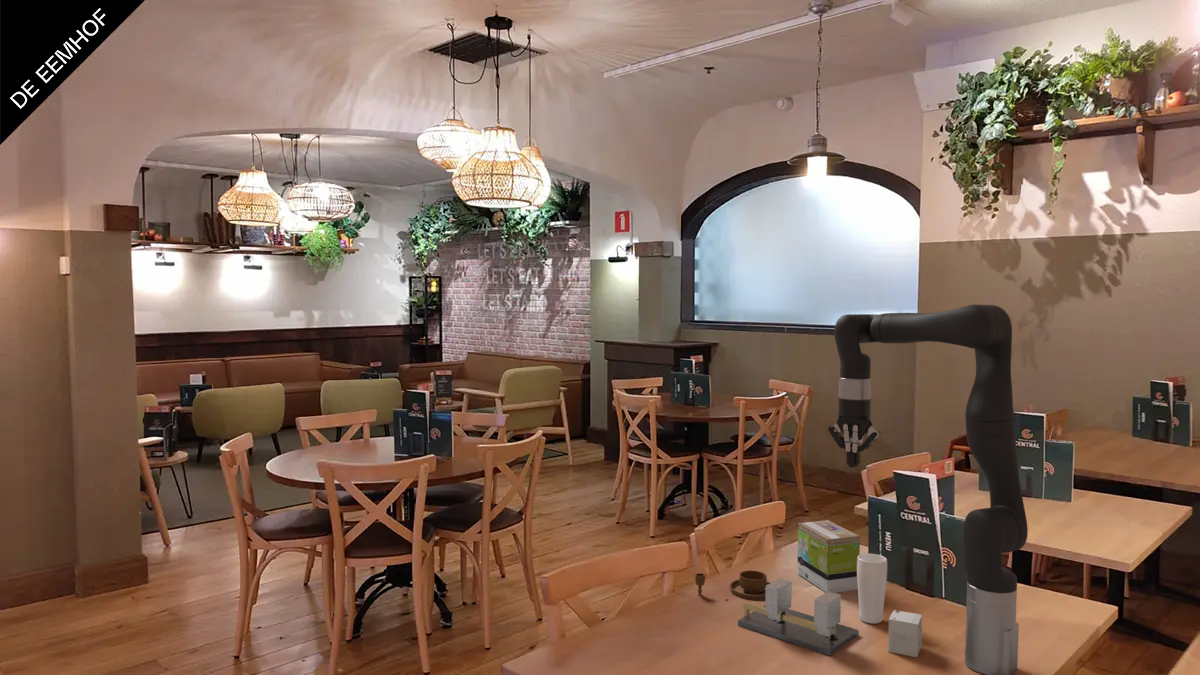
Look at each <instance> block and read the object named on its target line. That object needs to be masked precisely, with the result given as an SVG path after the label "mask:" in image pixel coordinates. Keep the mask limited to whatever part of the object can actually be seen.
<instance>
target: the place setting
mask: <svg viewBox="0 0 1200 675" xmlns="http://www.w3.org/2000/svg"><path fill="white" fill-rule="evenodd" d="M694 575H695V578H694V580H695V584H696V586H697V587H698V589H697V593H698V594H697V596H698V597H702V596H703V595H702V593H703V590H702V587H703V586H704V585H705V583H706V574H705V573H700V572H698V573H695V574H694ZM767 576H768V575H767V574H766V573H765V572H762V571H759V570H744V571H741V572H740V573H739V578H738V579H735V580H732V581H731V582H730V583H729V589H730V592H731V593H732V594H733V595H735V596H738V598H739V597H740V598H743V599H747V600H748V599H749V600H766V593H765V594H760V593H761V592H762V591H764V590H766V585H768V584H770V583H771V582H769V581H767V580H768V577H767ZM737 586H740V587H741V589H743V590H744V592H746V593H743V592H739V591H737V590H736V589H734V588H736V587H737ZM724 601H725V602H729V601H730V600H729V599H728V598H725V600H724Z"/></svg>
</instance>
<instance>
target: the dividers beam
mask: <svg viewBox="0 0 1200 675" xmlns="http://www.w3.org/2000/svg"><path fill="white" fill-rule="evenodd" d="M813 602H814V603H813V604H814V606H813V607H814V608H813V610H814V611H813V616H814V622H812V621H808V620H805V619H802V618H799V617H795V616H792V615H789V614H786V613H781V620H784V621H787V622H790V623H793V624H796V625H799V626H803V627H806V628H809V629H812V630H815V631H817V633H818V634H821V635H824V636H828V637H830V638H831V639H834V637H835V628H836V624H840V622H841V610H842V609H841V607H842V606H841V605H842V604H841V603H842V596H841V594H839V593H832V592H827V593H826V592H824V593H823V594H822V595H819V597H817V598H814V601H813ZM763 606H764V605H763ZM763 606H762V605H759V604H756V603H752V602H749V601H745V602H743V617H745V618H748V617H750V613H751V612H750V611H752V612H754V611H755V612H758V613H761V614H764V615H768V612H765V607H763Z"/></svg>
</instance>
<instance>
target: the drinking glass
mask: <svg viewBox="0 0 1200 675" xmlns="http://www.w3.org/2000/svg"><path fill="white" fill-rule="evenodd" d="M887 579H888V559H887V558H886V557H885V556H883V555H881V554H877V553H860V555H858V557H857V585H858V589H857V595H858V596H857V598H858V618H859V620H860V621H862V622H864V623H867V624H871V625H874V624H875V625H876V624H880V623H881V622H883V618H884V617H883V616H884V606H885V605H884V604H885V596H886V590H887V588H886V586H887V581H888V580H887Z"/></svg>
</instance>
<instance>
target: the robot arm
mask: <svg viewBox="0 0 1200 675" xmlns="http://www.w3.org/2000/svg"><path fill="white" fill-rule="evenodd" d="M1009 316H1010V315H1009V314H1008V313H1007V312H1006V310H1005V309H1004V308H1002V307H1000V306H998V305H993V304H975V303H974V304H970V305H966V306H961V307H958V308H953V309H948V310H944V311H938V312H936V311H935V312H927V313H924V312H923V313H922V312H887V313H881V314H880V313H879V314H874V313H872V314H871V313H868V314H867V313H866V314H865V313H864V314H863V313H861V314H860V313H859V314H857V313H855V314H853V313H852V314H844V315H841V316H840V317H839V318H838V319H837V320H836V322H835V325H834V329H833V332H834V333H833V334H834V340H835V345H836V350H837V353H838V357H839V360H840V363H839V383H838V390H837V391H838V392H837V395H838V396H837V397H838V398H837V399H838V400H837V401H838V403H837V404H838V409H837V413H838V417H837V418H836V423H835V424H833V425H831V426H829V427H827V430H828V432H829V434H830V435H831V437H832V438H833V440H834V441H835V443H836V444H837V446H838V447H839V448H840V449H843V450H845V452H846V465H848V468H853V469H854V468H855V469H856V468H858V466H859V465H861V452H864V451H867V450H868V449H870V447H871V446H872V445H873V444H874V443H875V442H876V441H877V439H879V437H880V436H881V431H879V430H876V429H875V428H874V427H873V424H872V420H871V408H872V407H871V406H872V403H871V402H872V385H871V384H872V383H871V357H870V356H869V355H868V354H865V353H862V350H861V345H860V344H869V343H870V344H871V343H880V344H881V343H882V344H914V343H925V342H932V343H933V342H935V343H936V342H937V343H943V344H950V345H956V346H961V347H966V348H969V349H974V355H975V356H974V357H975V377H974V380H973V384H972V386H971V387H972V388H971V391H970V393H969V396H968V399H967V402H966V407H965V413H964V414H965V415H964V416H965V420H964V421H965V433H966V442H967V446H968V448H969V450H970V453H971V454H972V456H973V458H974V459H975V461H976V462H977V464H978V466H979V467H980V469H981V471H982V472H983V474H984V476H985V478H986V481H987V485H988V490H989V499H990V501H989V502H990V503H989V504H990V505H989V506H990V507H983V508H976V509H974V510H971V511H969V513H967V515H966V516H965V519H964V521H963V527H962V546H963V547H962V548H963V552H962V554H963V565H964V569H965V572H966V580H967V581H966V583H967V584H966V605H965V606H966V610H965V612H966V613H965V638H964V640H965V641H964V644H965V645H964V663H965V665H966V666H967V667H968V668H970V669H972V670H973V671H975V672H977V673H978V674H979V673H980V674H984V675H1013V674H1014V673H1015V671H1016V670H1017V669H1018V662H1019V661H1018V658H1019V655H1018V654H1019V632H1020V630H1019V628H1020V627H1019V625H1020V624H1019V623H1018V622H1017V598H1018V597H1017V595H1018V577H1017V575H1016V573H1014V572H1013V571H1011V570H1010V569H1008V568H1005V567H1003V565H1002V564H1003V562H1002V561H1003V560H1002V554H1005V553H1011V552H1016V551H1019V550H1021V549H1023V547H1024V546H1025V545H1026V543H1027V540H1028V534H1029V533H1028V531H1029V529H1028V521H1027V520H1028V519H1027V516H1026V509H1025V505H1024V500H1023V493H1022V487H1021V483H1020V481H1021V480H1020V474H1019V472H1020V470H1019V462H1018V454H1017V435H1016V434H1017V432H1016V419H1015V418H1016V417H1015V412H1014V400H1013V383H1012V345H1013V343H1012V341H1013V340H1012V339H1013V327H1012V321H1011V318H1010V317H1009ZM842 434H843V435H842ZM866 434H867V436H868V437H867V438H866V439H865V441H864V437H865V436H866Z"/></svg>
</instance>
